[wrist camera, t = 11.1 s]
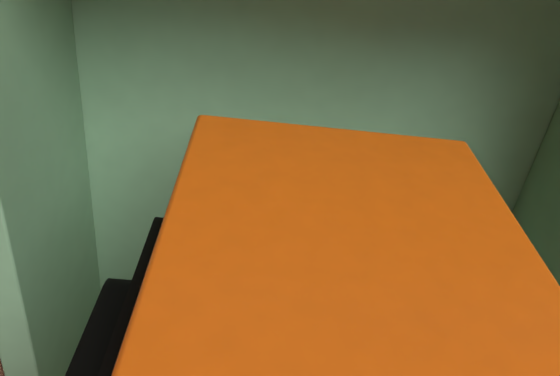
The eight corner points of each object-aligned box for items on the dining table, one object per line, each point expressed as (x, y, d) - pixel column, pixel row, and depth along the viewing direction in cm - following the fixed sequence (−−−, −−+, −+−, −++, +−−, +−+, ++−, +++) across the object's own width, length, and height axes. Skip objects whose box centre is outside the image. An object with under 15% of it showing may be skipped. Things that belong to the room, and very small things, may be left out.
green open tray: (652, -103, 12) (902, -81, 7) (453, 360, 20) (505, 513, 15) (32, -185, 11) (-158, -219, 6) (94, 331, 19) (32, 483, 14)
